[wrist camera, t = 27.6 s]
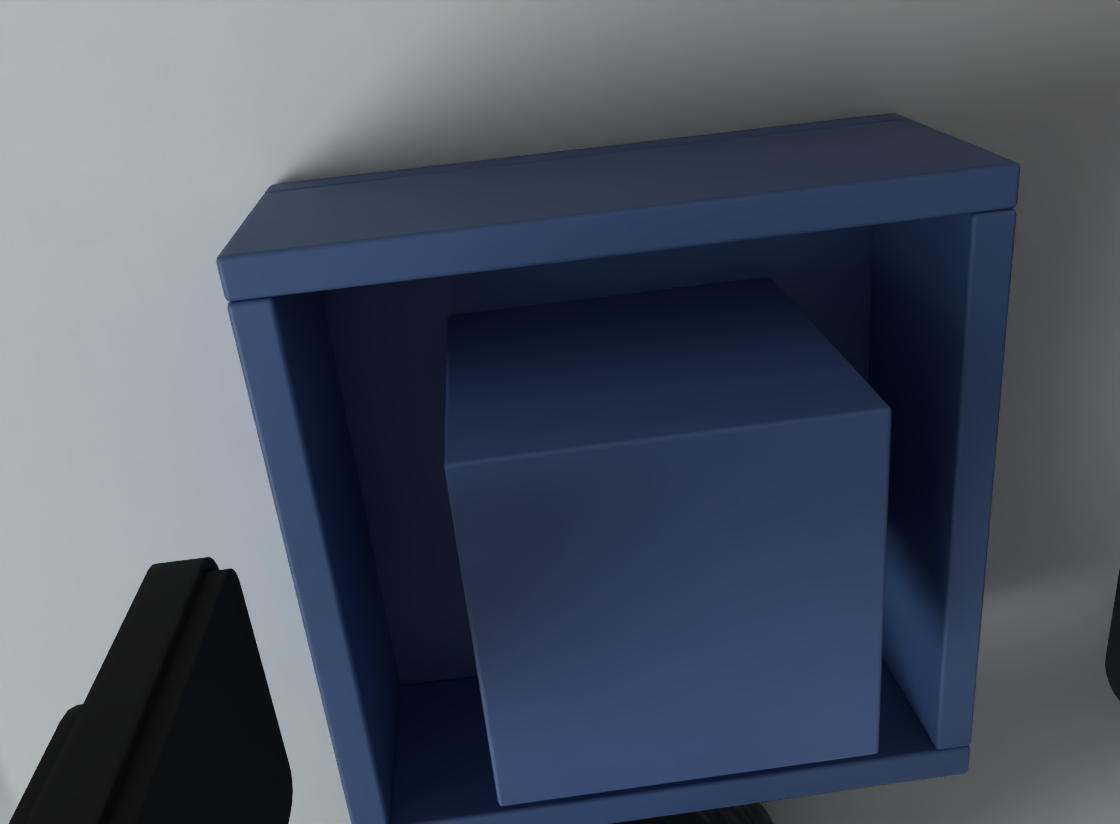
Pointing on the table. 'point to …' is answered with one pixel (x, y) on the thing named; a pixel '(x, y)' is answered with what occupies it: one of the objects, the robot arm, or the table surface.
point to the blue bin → (593, 272)
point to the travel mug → (713, 816)
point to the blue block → (666, 537)
